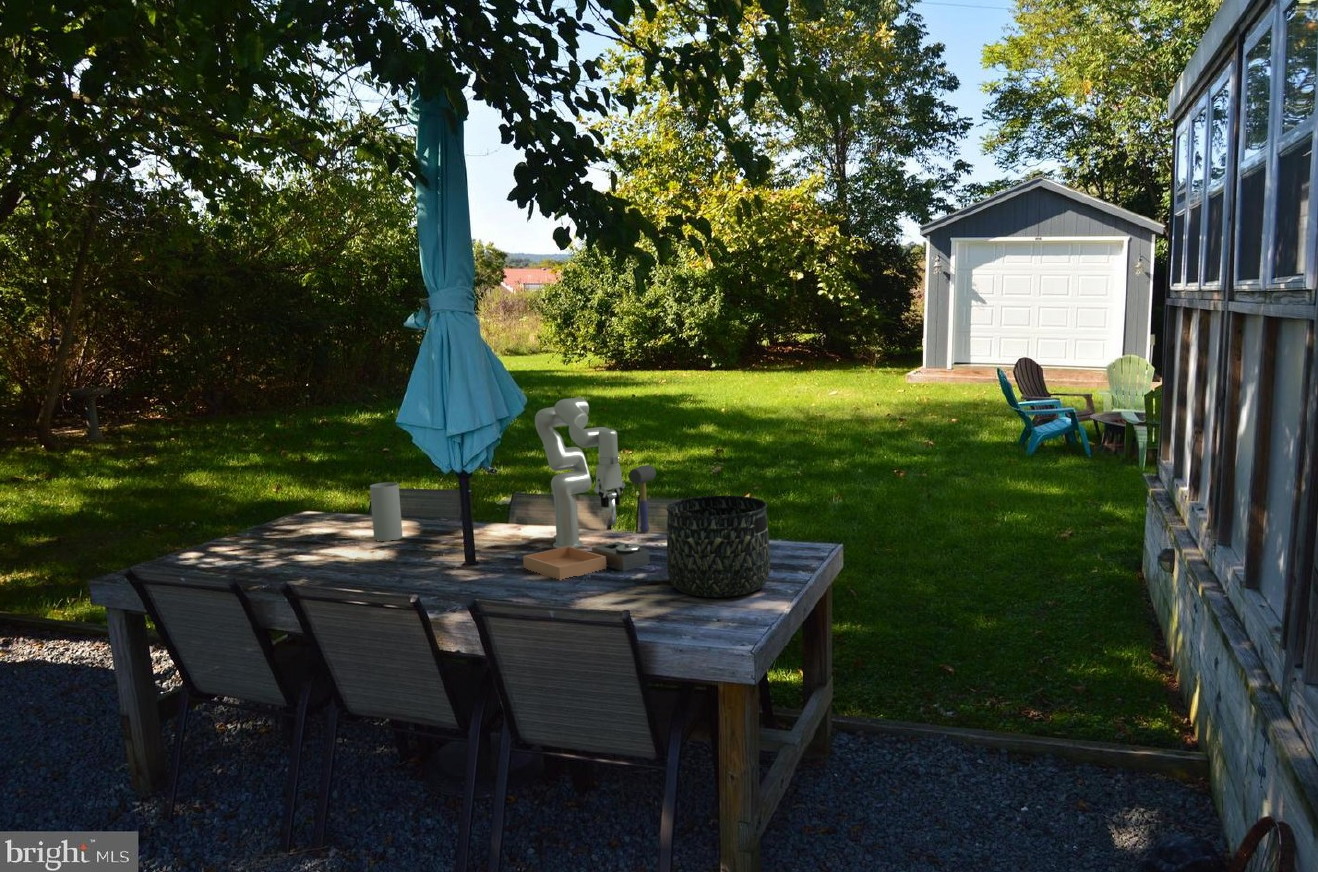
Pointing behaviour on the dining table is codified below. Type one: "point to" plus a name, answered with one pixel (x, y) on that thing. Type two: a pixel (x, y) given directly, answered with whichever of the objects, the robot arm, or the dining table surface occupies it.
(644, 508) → the rubber mallet
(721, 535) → the basket
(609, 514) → the lock pin
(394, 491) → the cylinder vase
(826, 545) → the dining table surface
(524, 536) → the dining table surface
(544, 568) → the tray
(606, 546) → the pulley bracket
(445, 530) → the dining table surface
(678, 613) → the dining table surface
